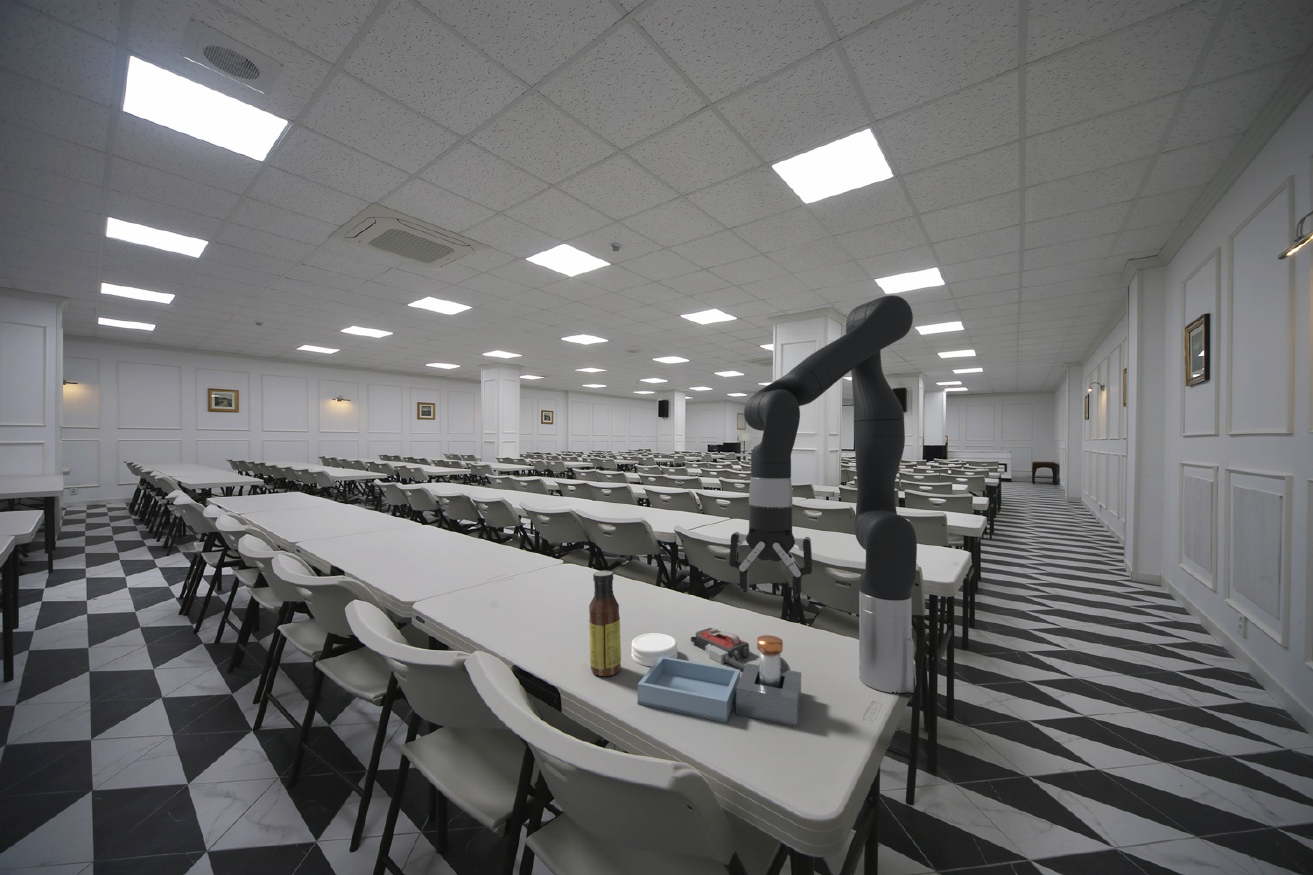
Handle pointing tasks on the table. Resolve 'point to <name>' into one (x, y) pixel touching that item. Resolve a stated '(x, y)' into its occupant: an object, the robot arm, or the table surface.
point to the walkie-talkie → (722, 646)
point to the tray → (690, 688)
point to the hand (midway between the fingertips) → (770, 594)
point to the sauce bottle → (604, 627)
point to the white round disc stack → (653, 648)
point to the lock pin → (769, 660)
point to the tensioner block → (769, 696)
